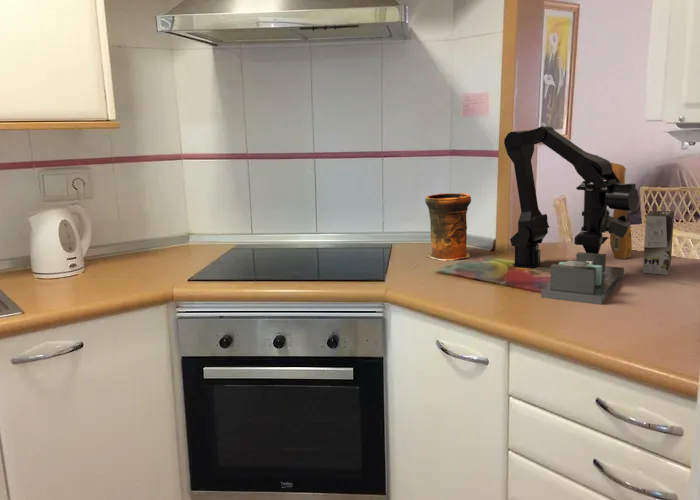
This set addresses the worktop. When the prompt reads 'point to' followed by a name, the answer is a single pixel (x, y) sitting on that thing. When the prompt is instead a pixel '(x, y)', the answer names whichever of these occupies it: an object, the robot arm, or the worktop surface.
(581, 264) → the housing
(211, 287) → the worktop surface
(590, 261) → the ram
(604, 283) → the press
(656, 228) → the coffee box
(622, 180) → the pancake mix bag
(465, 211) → the vessel
